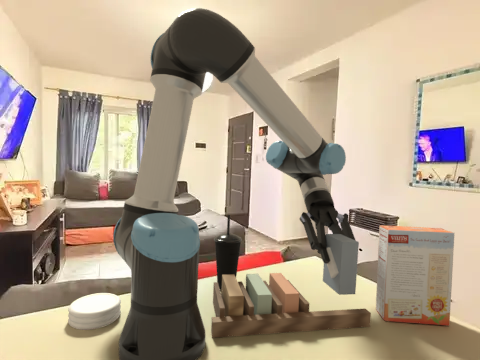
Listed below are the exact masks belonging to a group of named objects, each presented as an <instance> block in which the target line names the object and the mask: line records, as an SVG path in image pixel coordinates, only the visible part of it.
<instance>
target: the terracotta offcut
mask: <svg viewBox="0 0 480 360" xmlns="http://www.w3.org/2000/svg"><path fill="white" fill-rule="evenodd" d="M288 280H289V279H287V278H286V277H285V276H284V274H283V273H282V272H272V273H271V272H269V280H268V285H269V287H270V288H271V289H272V291H273V292H274V294H275V295H276V297H277V298H278V299H279V301H280V302H281V304H282V313H295V312H298V307H299V293H298V291H299V290H298V289H297V288H296V287H295V286H294V285H293V284H292V283H291V284H292V285H293V286H294V287H295V288H296V289H297V290H298V291H297V290H296V289H295V288H294V287H293V286H292V285H291V284H290V282H291V281H290V280H289V281H290V282H289V281H288Z"/></svg>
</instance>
